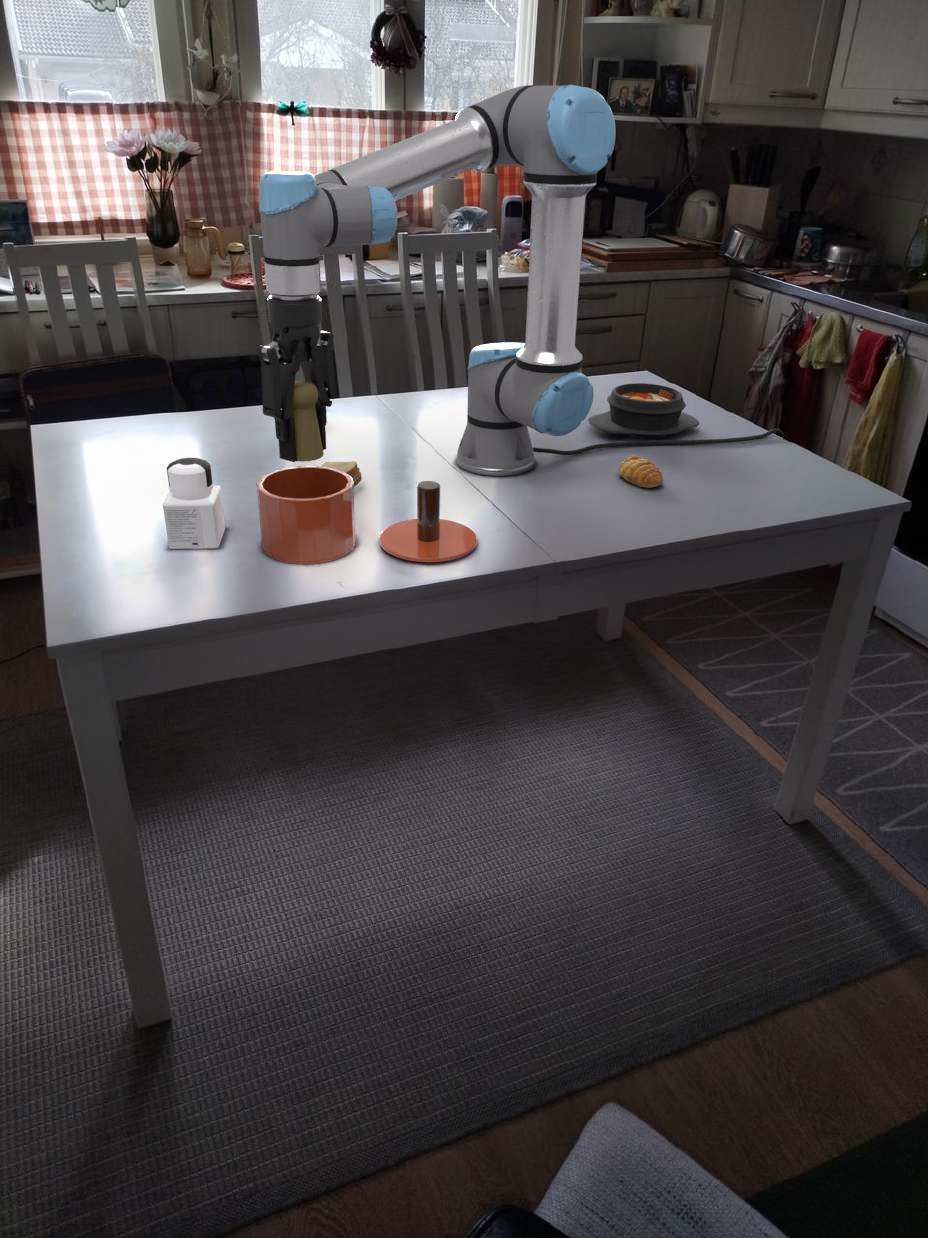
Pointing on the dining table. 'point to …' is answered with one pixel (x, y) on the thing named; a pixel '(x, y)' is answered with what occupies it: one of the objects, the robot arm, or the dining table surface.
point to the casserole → (644, 411)
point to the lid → (428, 532)
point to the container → (193, 506)
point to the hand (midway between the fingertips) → (303, 453)
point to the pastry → (640, 472)
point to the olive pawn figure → (306, 422)
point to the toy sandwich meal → (346, 469)
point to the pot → (306, 514)
